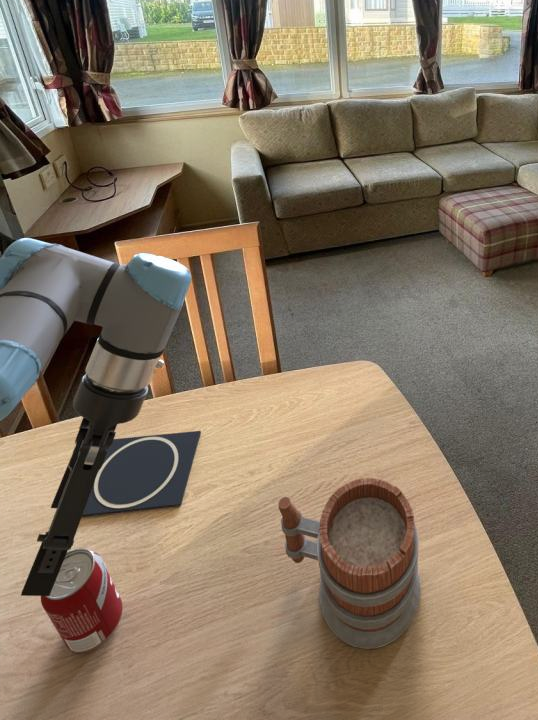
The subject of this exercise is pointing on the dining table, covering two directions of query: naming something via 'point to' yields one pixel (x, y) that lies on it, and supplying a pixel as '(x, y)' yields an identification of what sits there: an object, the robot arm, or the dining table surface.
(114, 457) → the mat
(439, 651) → the dining table surface
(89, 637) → the soda can
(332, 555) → the mug
